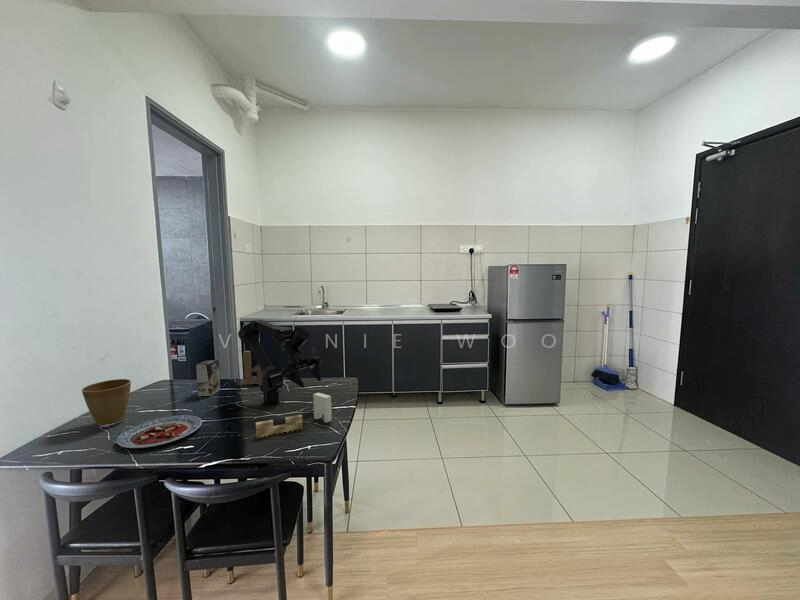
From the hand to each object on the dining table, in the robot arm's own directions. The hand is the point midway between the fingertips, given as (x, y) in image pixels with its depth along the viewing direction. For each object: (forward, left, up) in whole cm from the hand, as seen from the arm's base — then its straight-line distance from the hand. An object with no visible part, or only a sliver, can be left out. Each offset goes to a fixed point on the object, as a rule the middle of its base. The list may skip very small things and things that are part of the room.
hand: (312, 384), depth 144 cm
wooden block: (-43, +39, -13) cm, 60 cm away
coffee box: (-59, +24, -13) cm, 65 cm away
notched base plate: (-7, -17, -13) cm, 22 cm away
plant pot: (-79, -10, -13) cm, 81 cm away
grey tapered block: (+6, -5, -13) cm, 15 cm away
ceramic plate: (-51, -19, -13) cm, 56 cm away
